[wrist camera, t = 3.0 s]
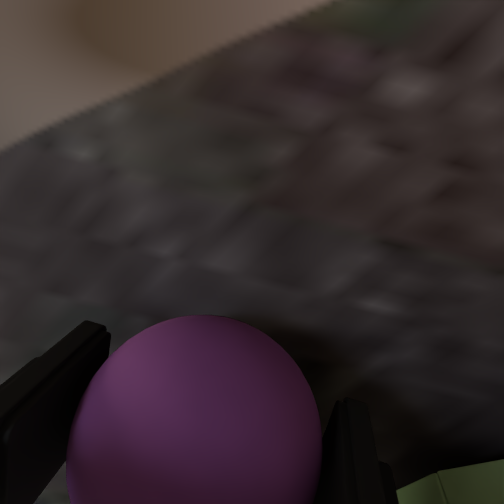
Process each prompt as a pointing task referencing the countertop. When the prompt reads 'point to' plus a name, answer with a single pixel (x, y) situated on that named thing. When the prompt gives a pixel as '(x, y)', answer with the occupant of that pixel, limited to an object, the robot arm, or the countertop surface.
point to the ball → (196, 421)
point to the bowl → (458, 486)
